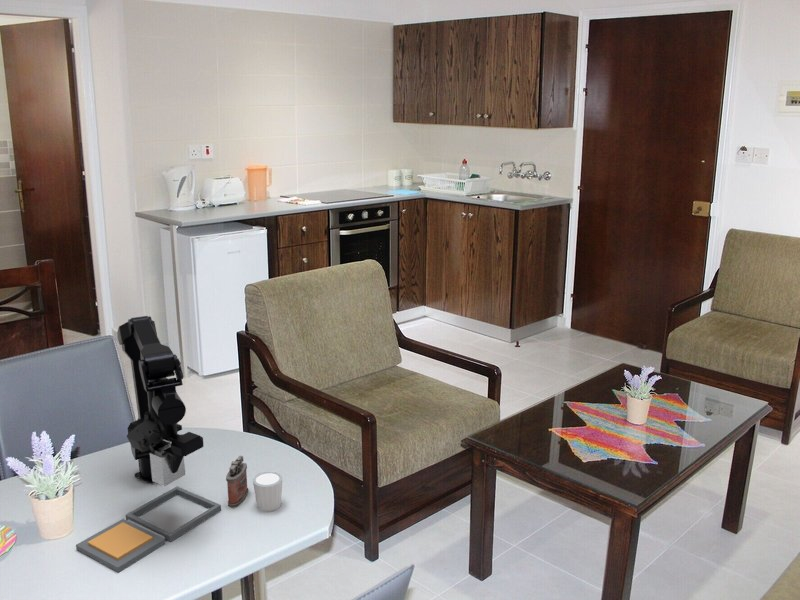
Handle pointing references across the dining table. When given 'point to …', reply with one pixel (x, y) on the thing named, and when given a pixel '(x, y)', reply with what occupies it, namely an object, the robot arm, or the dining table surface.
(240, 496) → the red tin
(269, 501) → the grey cup
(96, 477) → the dining table surface
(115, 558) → the lid
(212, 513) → the gray square frame
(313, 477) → the dining table surface
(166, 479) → the block
